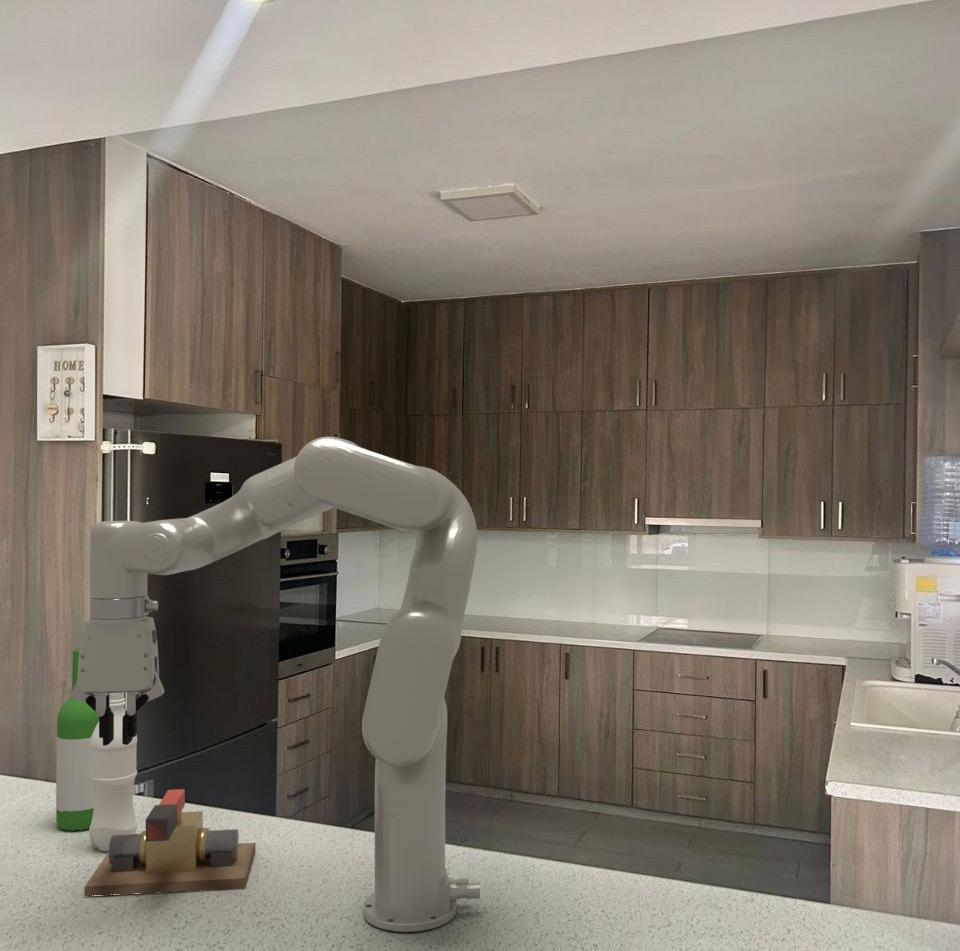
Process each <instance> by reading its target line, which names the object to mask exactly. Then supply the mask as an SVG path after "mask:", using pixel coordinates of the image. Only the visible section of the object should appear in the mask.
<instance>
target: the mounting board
mask: <svg viewBox="0 0 960 951" xmlns="http://www.w3.org/2000/svg"><path fill="white" fill-rule="evenodd" d="M255 856H256V842H250V843H249V842H247V843H246V842H244V843H238V854H237V858H234V860H233V863H232V866H223V867H211V859H208V861H207V862H199V864H198V866H197V868H196V870H195V871H175V872H156V873H146V865H140V863H138V864H137V866H136V867H135V869H134V871H125V872H112V864H110V862H109V851H107V854H106V855H105V856H104V858H103V860H101V862H100V864H99V865H98V866H97V867H96V869H95V871H94V872H93V874H92V875H91V877H89V880H88V881H87V882H86V884H85V885H84V898H86V897H85V896H92V895H93V896H94V895H111V894H112V895H113V894H133V893H134V894H135V893H154V894H159V893H158V892H173V893H181V892H180V891H191V892H202V891H201V890H210V891H225V890H245V889H246V887H247V883H248V879H249V876H250V872H251V869H252V866H251V865H253V862H254V859H255ZM253 858H254V859H253ZM244 888H245V889H244ZM177 891H179V892H177ZM156 892H157V893H156Z"/></svg>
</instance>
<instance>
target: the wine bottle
mask: <svg viewBox="0 0 960 951" xmlns="http://www.w3.org/2000/svg"><path fill="white" fill-rule="evenodd" d="M79 651H80V647H77V648H74V649H73V650H72V673H71V674H72V675H71V676H72V679H71V680H72V681H71V684H72V686H71V688H72V689H71V692H72V691H73V689H74V687H75V684H76V682H77V680H78V661H79ZM98 722H99V716H97V715H96V712H95V711H94V710H93V709H92V708H91V707H90V706H89V705H88V704H87V703H85V702H81V701H78V700H76V699H73V698H72V697H71V696H70V697H69V698H68V699H67V700H66V701H65V702H64V703H63V704H62V705H61V707H60V709H59V711H58V714H57V719H56V773H55V774H56V775H55V776H56V788H55V791H56V794H55V795H56V796H55V799H56V800H55V802H56V804H55V806H56V808H55V809H56V810H55V811H56V814H55V816H56V817H55V820H56V825H57V827H58V828H59V829H61V830H64V831H68V830H69V831H70V832H76V831H75V830H79V831H83V830H84V829H86V830H89V829H88V828H90V825H91V821H92V817H93V810H94V793H93V786H92V782H91V778H90V766H91V747H90V740H91V736H92V734H93V732H94V729H95V727H96V726H97V724H98ZM69 831H68V832H69Z"/></svg>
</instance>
